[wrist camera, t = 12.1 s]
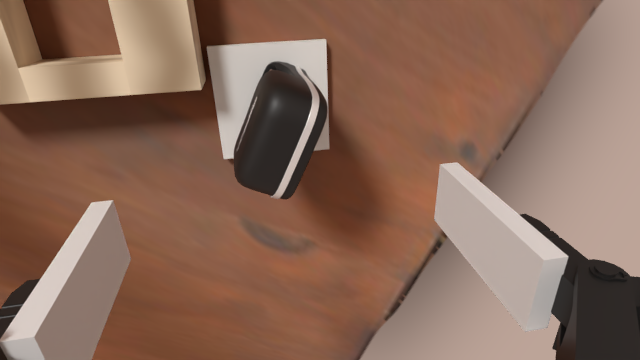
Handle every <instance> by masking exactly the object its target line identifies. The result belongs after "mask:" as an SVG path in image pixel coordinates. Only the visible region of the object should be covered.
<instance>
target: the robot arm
mask: <svg viewBox="0 0 640 360" xmlns="http://www.w3.org/2000/svg"><path fill="white" fill-rule="evenodd" d="M434 220H435V221H436V222H437V224H438V225H439V226H440V227H441V229H442V230H443V231H444V232H445V234H446V235H447V236H448V237H449V238H450V239H451V241H452V242H453V243H454V245H455V246H456V247H457V248H458V250H459V251H460V252H461V253H462V255H463V256H464V257H465V258H466V260H467V261H468V262H469V263H470V265H471V266H472V267H473V268H474V269H475V271H476V272H477V273H478V274H479V276H480V277H481V278H482V279H483V281H484V282H485V283H486V284H487V285H488V287H489V288H490V289H491V291H492V292H493V293H494V294H495V296H496V297H497V298H498V299H499V300H500V302H501V303H502V304H503V305H504V307H505V308H506V309H507V310H508V312H509V313H510V314H511V315H512V316H513V318H514V319H515V320H516V321H517V323H518V324H519V325H520V327H521V328H522V329H523V330H524V331H525V332H527V331H532V330H538V329H544V328H547V327H548V324H549V320H550V317H551V314H553V315H554V316H555V317H556V318H557V319H558V320H559V321H560V322H561V323H560V326H559V329H558V332H557V335H556V338H555V342H554V345H553V349H555V350H556V360H640V277H631V276H630V275H629V274H628V273H626V272H625V271H624V270H623V269H621V268H620V267H618V266H616V265H614V264H611V263H608V262H605V261H601V260H594V259H593V260H588V259H587V258H585V257H584V256H583V255H582V254H580V253H579V252H578V251H577V250H575V249H574V248H573V247H572V246H571V245H569V244H568V243H567V242H566V241H564V240H563V239H562V238H559V236H558V235H557V234H556V233H554V232H553V231H550V229H549V228H548V227H547V226H546V225H545V224H543V223H542V222H541V221H539V220H537V219H535V218H533V217H531V216H529V215H527V214H522V215H519V214H518V213H516V212H515V211H514V210H513V209H512V208H510V207H509V206H508V205H507V204H506V203H505V202H503V201H502V200H501V199H500V198H499V197H497V196H496V195H495V194H494V193H493V192H491V191H490V190H489V189H488V188H487V187H486V186H484V185H483V184H482V183H481V182H480V181H479V180H477V179H476V178H475V177H474V176H473V175H471V174H470V173H469V172H468V171H467V170H466V169H464V168H463V167H462V166H461V165H460V164H458V163H448V164H440V171H439V180H438V189H437V199H436V208H435V217H434ZM130 260H131V257H130V254H129V250H128V247H127V244H126V241H125V237H124V234H123V231H122V228H121V224H120V221H119V218H118V214H117V211H116V208H115V205H114V201H113V200H110V201H101V202H92V203H91V204H90V206H89V207H88V209H87V210H86V212H85V213H84V215H83V216H82V218H81V219H80V221H79V222H78V224H77V225H76V227H75V228H74V230H73V231H72V233H71V234H70V236H69V237H68V239H67V240H66V242H65V243H64V245H63V246H62V248H61V249H60V251H59V252H58V254H57V255H56V257H55V258H54V260H53V261H52V263H51V264H50V266H49V267H48V269H47V270H46V272H45V273H44V275H43V276H42V278H41V279H37V280H29V281H26V282H25V283H24V284H23V285H21V286H20V287H19V288H18V289H16V290H15V291H14V292H12V293H11V295H10V296H9V297H8V299H7V300H6V302H5V303H4V304H3V306H2V309H0V360H91V359H92V357H93V354H94V352H95V349H96V347H97V344H98V342H99V339H100V337H101V334H102V331H103V329H104V326H105V324H106V321H107V319H108V316H109V314H110V311H111V309H112V306H113V303H114V301H115V298H116V296H117V293H118V291H119V288H120V286H121V283H122V281H123V278H124V275H125V273H126V270H127V268H128V265H129V263H130Z"/></svg>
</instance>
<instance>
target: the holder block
mask: <svg viewBox="0 0 640 360" xmlns="http://www.w3.org/2000/svg"><path fill="white" fill-rule="evenodd" d="M108 2H109V6H110V10H111V14H112V18H113V22H114V26H115V30H116V34H117V38H118V43H119V47H120V51H121V55H106V56H89V57H73V58H56V59H42V56H41V53H40V50H39V47H38V44H37V41H36V38H35V35H34V32H33V29H32V26H31V23H30V20H29V17H28V14H27V11H26V8H25V5H24V2H23V0H0V104H14V103H27V102H41V101H55V100H69V99H83V98H96V97H110V96H124V95H138V94H151V93H165V92H179V91H193V90H202V88H203V85H204V83H205V81H206V76H205V69H204V63H203V57H202V51H201V44H200V38H199V32H198V26H197V19H196V13H195V7H194V0H108Z"/></svg>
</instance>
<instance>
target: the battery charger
mask: <svg viewBox="0 0 640 360" xmlns="http://www.w3.org/2000/svg"><path fill="white" fill-rule="evenodd" d="M327 113H328V106H327V102H326V99H325V98H324V96H323V94H322V92H321V91H320V90H319V88H318V87H317V86H316V85H315V83H314V82H313V81H312V80H310V78H309V77H308V75H307V73H306V71H305V70H303V69H301V68H300V67H299V66H297V65H291V64H289V63H286V62H281V61H274V62H271V63H270V64H268V65H267V66H266V68H265V70H264V72H263V75H262V77H261V78H260V80H259V82H258V85H257V87H256V90H255V92H254V95H253V98H252V100H251V103H250V106H249V109H248V112H247V115H246V117H245V120H244V123H243V125H242V127H241V130H240V133H239V135H238V138H237V141H236V144H235V148H234V171H235V177H236V179H237V181H238V182H239V183H240V184H241V185H242V186H244V187H247V188H249V189H252V190H255V191H258V192H261V193H265V194H268V195H270V197H272V198H275V199H279V198H281V199H289V198H290V197H291V196H292V195H293V193H294V192H295V190H296V188H297V186H298V184H299V182H300V180H301V178H302V175H303V173H304V171H305V169H306V167H307V164H308V162H309V160H310V158H311V155H312V153H313V151H314V149H315V146H316V144H317V142H318V140H319V137H320V135H321V133H322V130H323V128H324V125H325V122H326V118H327Z"/></svg>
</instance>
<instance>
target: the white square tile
mask: <svg viewBox="0 0 640 360" xmlns="http://www.w3.org/2000/svg"><path fill="white" fill-rule="evenodd" d="M207 53H208V60H209V66H210V73H211V79H212V86H213V92H214V99H215V105H216V112H217V118H218V125H219V131H220V138H221V144H222V151H223V157H224V159H230V158H234V148H235V144H236V141H237V138H238V135H239V133H240V130H241V127H242V125H243V123H244V120H245V117H246V115H247V112H248V109H249V106H250V103H251V100H252V98H253V95H254V92H255V90H256V87H257V85H258V82H259V80H260V78H261V77H262V75H263V72H264V70H265V68H266V66H267V65H268V64H270V63H271V62H274V61H281V62H286V63H289V64H291V65H297V66H299V67H300V68H301V69H303V70H305V71H306V73H307V75H308V77H309V78H310V80H312V81H313V82H314V83H315V85H316V86H317V87H318V88H319V90H320V91H321V92H322V94H323V96H324V98H325V99H326V102H327V106H328V83H327V49H326V40H325V39H315V40H298V41H282V42H265V43H248V44H231V45H214V46H207ZM326 149H329V118H328V113H327V118H326V122H325V125H324V128H323V130H322V133H321V135H320V137H319V140H318V142H317V144H316V146H315V149H314V151H315V150H326Z"/></svg>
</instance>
